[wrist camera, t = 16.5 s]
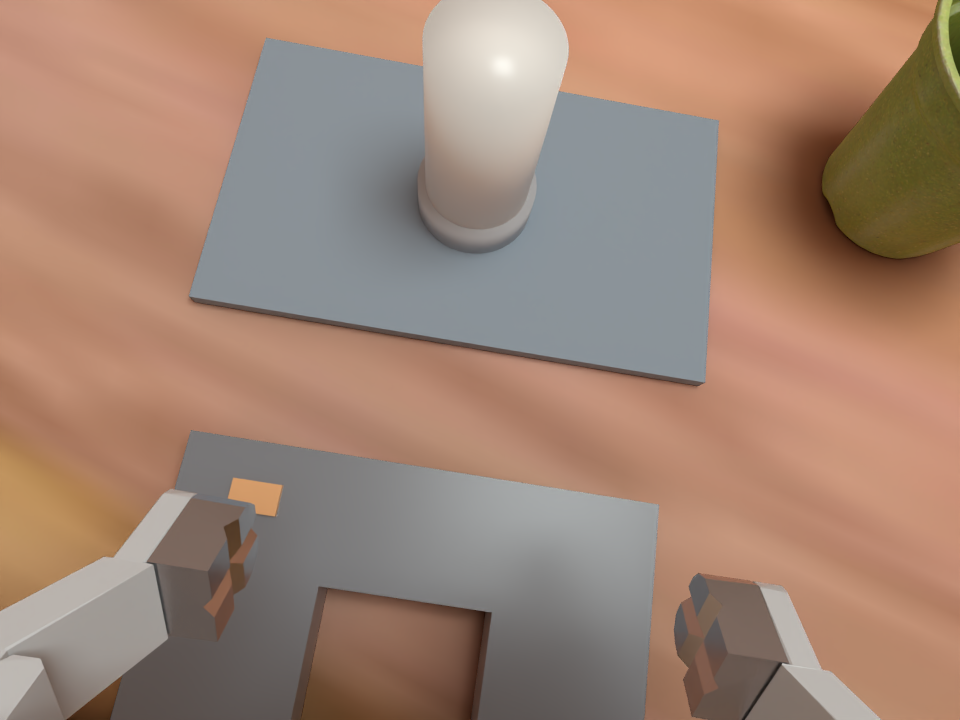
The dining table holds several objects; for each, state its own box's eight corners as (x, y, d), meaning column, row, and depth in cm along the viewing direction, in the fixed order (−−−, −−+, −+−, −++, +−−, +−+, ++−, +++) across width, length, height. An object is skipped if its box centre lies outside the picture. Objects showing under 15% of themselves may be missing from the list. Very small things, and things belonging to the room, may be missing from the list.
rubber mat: (712, 129, 27) (718, 120, 26) (698, 385, 24) (705, 382, 23) (269, 48, 26) (266, 37, 26) (194, 302, 23) (188, 296, 23)
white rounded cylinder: (537, 163, 25) (587, -9, 17) (522, 262, 24) (569, 129, 16) (429, 143, 25) (427, -39, 17) (409, 242, 24) (397, 98, 16)
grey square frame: (639, 505, 22) (661, 504, 20) (604, 959, 19) (626, 1016, 17) (74, 416, 22) (35, 404, 20) (-78, 870, 18) (-146, 917, 16)
